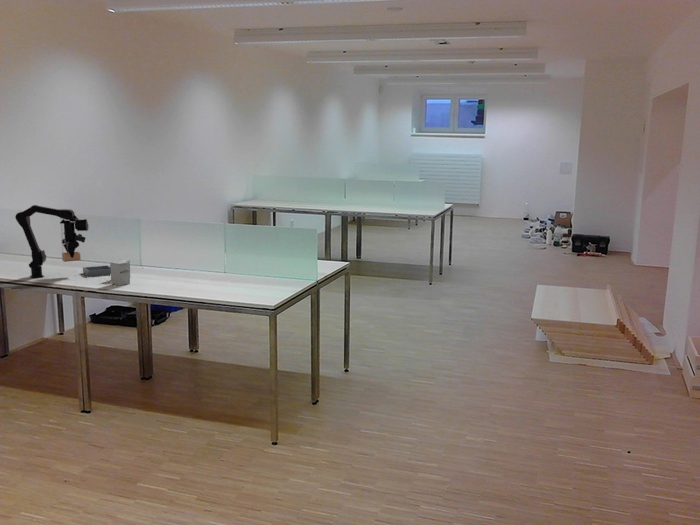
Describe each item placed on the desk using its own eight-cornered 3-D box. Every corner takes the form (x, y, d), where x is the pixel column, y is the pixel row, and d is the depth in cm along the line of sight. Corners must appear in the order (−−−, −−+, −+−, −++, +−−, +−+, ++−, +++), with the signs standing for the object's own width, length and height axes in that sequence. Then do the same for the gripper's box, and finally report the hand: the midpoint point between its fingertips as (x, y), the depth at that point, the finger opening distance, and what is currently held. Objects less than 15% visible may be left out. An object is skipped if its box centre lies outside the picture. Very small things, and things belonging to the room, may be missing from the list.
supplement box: (119, 286, 349) (118, 263, 347) (111, 284, 353) (109, 262, 351) (130, 283, 355) (129, 261, 353) (121, 282, 359) (120, 260, 357)
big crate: (83, 273, 386) (82, 267, 385) (107, 270, 394) (107, 265, 394) (88, 276, 374) (88, 271, 373) (113, 274, 382) (113, 268, 382)
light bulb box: (121, 281, 363) (120, 262, 361) (110, 280, 364) (109, 262, 362) (131, 277, 373) (130, 259, 371) (120, 277, 374) (119, 259, 373)
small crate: (62, 260, 374) (61, 252, 373) (78, 258, 379) (77, 251, 378) (64, 261, 369) (63, 254, 368) (80, 260, 374) (80, 252, 373)
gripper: (87, 231, 368) (89, 257, 371) (80, 228, 383) (82, 253, 386) (67, 232, 362) (68, 259, 364) (60, 229, 377) (62, 255, 380)
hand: (71, 256), depth 374 cm, fingers closed on small crate, 6 cm apart
